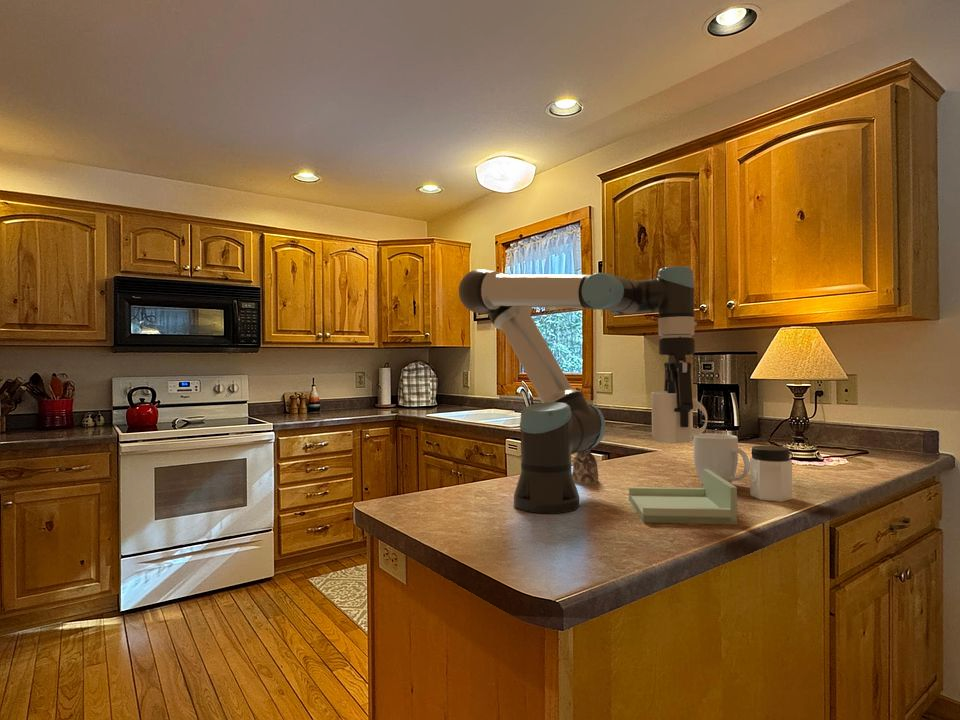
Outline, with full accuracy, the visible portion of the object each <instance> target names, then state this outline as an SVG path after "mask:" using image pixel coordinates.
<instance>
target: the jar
mask: <svg viewBox="0 0 960 720" xmlns="http://www.w3.org/2000/svg"><path fill="white" fill-rule="evenodd" d="M790 451H791V450H790V449H789V448H788V447H784V446H777V445H754V446H752V447H751V457H749V462H750V470H749V480H750V482H749V483H750V484H749V485H750V489H749V490H750V496H751V497H753V498H755V499H757V500H760V501H766V502H779V503H782V502H787V501H790V500H792V499H793V460H792V459H791V458H790V457H791V456H790V455H791V453H790Z"/></svg>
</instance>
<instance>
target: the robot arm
mask: <svg viewBox="0 0 960 720" xmlns="http://www.w3.org/2000/svg"><path fill="white" fill-rule="evenodd" d="M656 276H657V277H656V278H650V279H639V280H637V279H636V280H634V279H630V278H625V277H622V276H619V275H618V276H617V275H615V274H612V273H609V272H608V273H607V272H596V273H593V274H511V273H503V272H498V271H496V270H488V269H482V268H481V269H480V268H479V269H474V270H471V271H468V272H467V274H465V275H464V276H463V277H462V278H461V281H460V282H459V286H458V297H459V300H460V302H461V304H462V305H463V306H464V307H465V308H466V309H467V310H469V311H470V312H473V313H476V314H482V315H487V316H488V317H489V319H490V321H491V323H492V325H493V326H494V328H495V329H497V330H502V331H503V333H504V335H505V338H506V340H507V341H508V342H509V344H510V347H511V348H512V350H513V352H514V354H515V355H516V357H517V360H518V361H519V363H520V364H521V366H522V369H523V370H524V372H525V374H526V376H527V378H528V380H529V381H530V383H531V385H532V387H533V389H534V390H535V393H536V394H537V396H538V398H539V400H540V401H541V402H540V403H534V404H533V403H532V404H530V405H527V406H525V407H524V408H523V409H522V410H521V413H520V421H519V428H520V474H519V478H518V480H517V484H516V487H515V490H514V494H513V506H514V507H515V508H517V509H518V510H522V511H525V512H530V513H535V514H536V513H537V514H560V513H569V512H572V511H575V510H577V509H579V507H580V495H579V491H578V488H577V486H576V483H575V482H574V479H573V476H572V473H573V471H572V455H575V454H577V453H578V452H585V451H588V450H589V449H591V450H592V449H593V448H596V446H598V445H599V444H600V443H601V442H602V440H603V438H604V436H605V432H606V420H605V417H604V415H603V413H602V411H601V410H600V409H599V408H598V407H597V406H595V405H593V404H591V403H588V401H587V400H586V397H585V396H584V394H583V393H582V391H581V390H578V389H575V388H573V387H572V386H571V384H570V382H569V380H568V379H567V377H566V375H565V373H564V372H563V369H562V368H561V366H560V364H559V363H558V360H557V359H556V358H555V356H554V353H553V352H552V350H551V349H550V347H549V345H548V344H547V342H546V340H545V338H544V337H543V335H542V333H541V331H540V330H539V327H538V326H537V324H536V323H535V321H534V319H533V317H532V315H531V313H532V310H533V308H550V309H551V308H554V309H555V308H557V309H558V308H559V309H586V310H602V311H609V312H610V314H612V315H626V316H627V315H630V314H641V313H642V314H643V313H644V314H645V313H656V312H658V318H657V319H658V320H657V321H658V324H657V325H658V336H659V337H660V338H659V340H658V353H659V355H660V356H668V359H667V360H668V361H667V362H664V364H663V366H664V382H663V384H664V386H663V389H664V390H663V391H667V392H668V393H676V402H677V408H675V409H674V412H676V442H677V443H676V444H685V443H688V444H690V443H691V442H690V411H691V409H693V410H694V407H693V400H692V398H693V388H692V387H693V386H692V376H691V375H692V371H691V370H692V364H691V362H687V359H686V356H687V355H689V356H691V355H693V356H694V354H695V352H696V344H695V343H696V342H695V341H696V340H695V339H694V337H692V336H694V335H695V327H696V326H697V324H698V322H697V321H695V288H696V286H695V280H694V271H693V269H692V268H691V267H689V266H684V265H683V266H682V265H673V266H666V267H661V268H660V269H659V270H658V272H657V275H656Z"/></svg>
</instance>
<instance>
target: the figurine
mask: <svg viewBox="0 0 960 720" xmlns="http://www.w3.org/2000/svg"><path fill="white" fill-rule="evenodd" d="M572 476H573V479H574V482H575V484H579V485H580V484H581V485H594V484H597V483H598V482H599V471H598V462H597V459H596V457H595V455H594V454H592V448H591V449H589V450H588V451H585V452H578V453H576V455H574V458H573V465H572Z"/></svg>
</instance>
